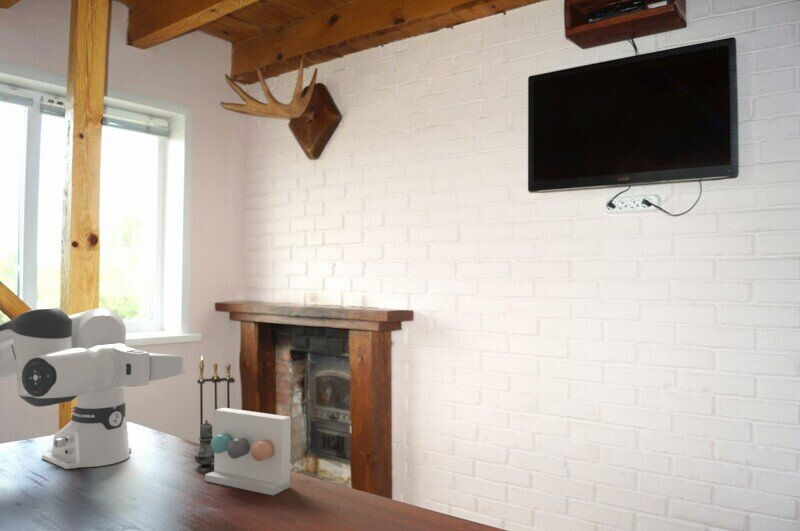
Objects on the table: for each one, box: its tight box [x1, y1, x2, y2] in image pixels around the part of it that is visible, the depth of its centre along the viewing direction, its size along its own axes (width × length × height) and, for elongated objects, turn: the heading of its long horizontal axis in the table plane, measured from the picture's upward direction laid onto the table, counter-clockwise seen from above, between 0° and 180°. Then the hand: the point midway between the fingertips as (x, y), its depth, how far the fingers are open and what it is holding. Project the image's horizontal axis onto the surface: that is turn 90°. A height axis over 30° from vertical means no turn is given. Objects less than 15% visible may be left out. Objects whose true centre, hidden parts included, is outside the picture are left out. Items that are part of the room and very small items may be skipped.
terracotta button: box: [251, 440, 274, 461], centre depth 140 cm, size 4×3×4 cm
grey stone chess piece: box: [193, 419, 214, 472], centre depth 157 cm, size 6×6×12 cm
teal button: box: [211, 433, 233, 454], centre depth 146 cm, size 4×3×4 cm
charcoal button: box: [227, 438, 250, 459], centre depth 142 cm, size 4×3×4 cm
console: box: [204, 407, 292, 496], centre depth 145 cm, size 20×6×16 cm, turn 63°
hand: (167, 358), depth 137 cm, fingers closed
